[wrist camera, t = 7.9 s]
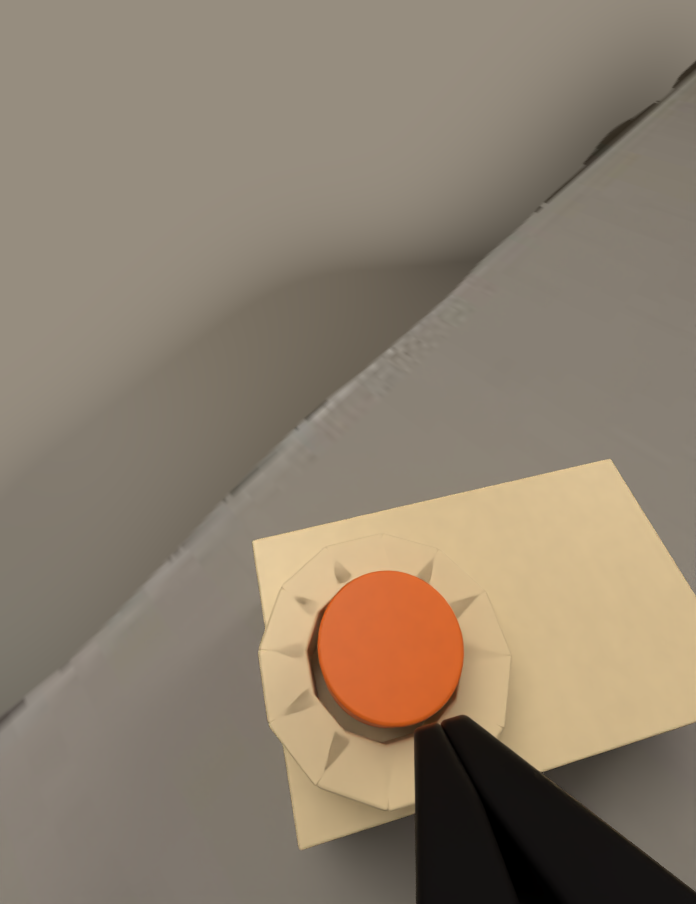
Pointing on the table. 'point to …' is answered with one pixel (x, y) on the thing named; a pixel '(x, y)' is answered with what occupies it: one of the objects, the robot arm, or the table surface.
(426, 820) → the robot arm
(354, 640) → the round orange push button
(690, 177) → the table surface
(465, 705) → the button base
